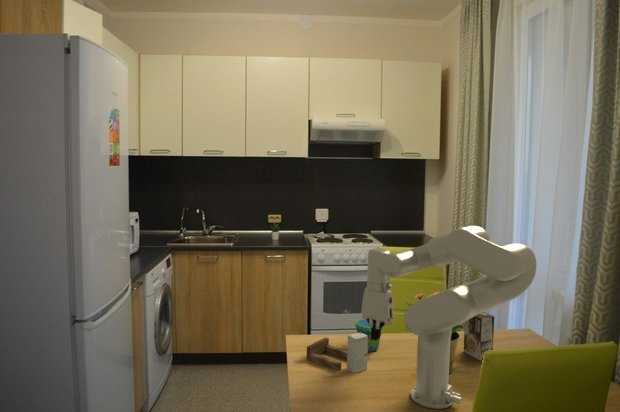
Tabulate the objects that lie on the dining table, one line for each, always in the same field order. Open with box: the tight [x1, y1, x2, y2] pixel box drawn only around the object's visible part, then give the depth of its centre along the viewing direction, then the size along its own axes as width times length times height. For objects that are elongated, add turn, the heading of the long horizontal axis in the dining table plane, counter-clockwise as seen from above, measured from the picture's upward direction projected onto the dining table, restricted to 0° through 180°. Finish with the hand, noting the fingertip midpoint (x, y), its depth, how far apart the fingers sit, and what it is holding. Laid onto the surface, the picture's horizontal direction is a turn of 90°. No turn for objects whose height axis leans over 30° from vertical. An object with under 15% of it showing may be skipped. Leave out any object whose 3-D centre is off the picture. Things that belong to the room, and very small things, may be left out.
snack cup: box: [355, 318, 384, 353], centre depth 168 cm, size 16×10×10 cm
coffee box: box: [463, 311, 495, 361], centre depth 163 cm, size 9×6×16 cm
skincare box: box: [346, 332, 369, 374], centre depth 150 cm, size 6×4×12 cm
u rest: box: [306, 337, 348, 372], centre depth 157 cm, size 14×12×5 cm
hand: (375, 338), depth 145 cm, fingers closed
